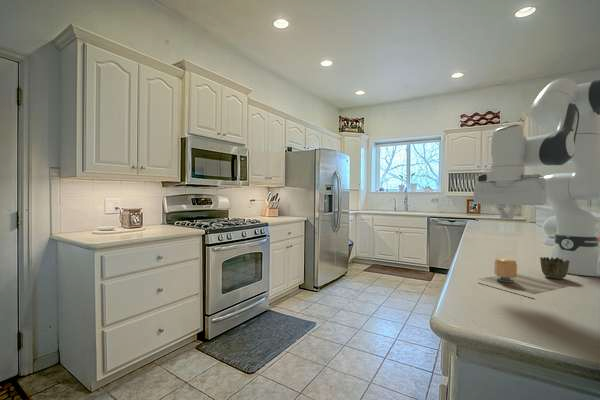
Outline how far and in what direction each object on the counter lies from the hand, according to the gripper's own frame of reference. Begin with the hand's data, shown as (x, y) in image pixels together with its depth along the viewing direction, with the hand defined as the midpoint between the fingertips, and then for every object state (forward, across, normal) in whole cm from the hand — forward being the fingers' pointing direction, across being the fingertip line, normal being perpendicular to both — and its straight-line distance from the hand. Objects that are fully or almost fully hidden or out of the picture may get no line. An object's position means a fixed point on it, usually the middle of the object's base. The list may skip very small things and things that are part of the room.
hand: (506, 218), depth 92 cm
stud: (+20, 0, 0) cm, 20 cm away
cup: (+22, -4, -20) cm, 30 cm away
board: (+22, -3, -4) cm, 22 cm away
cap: (+18, 0, 0) cm, 18 cm away
